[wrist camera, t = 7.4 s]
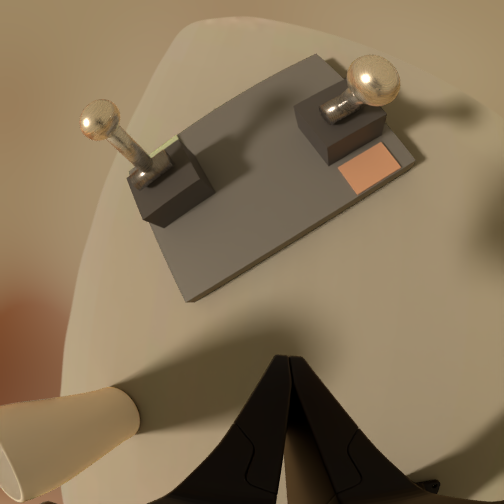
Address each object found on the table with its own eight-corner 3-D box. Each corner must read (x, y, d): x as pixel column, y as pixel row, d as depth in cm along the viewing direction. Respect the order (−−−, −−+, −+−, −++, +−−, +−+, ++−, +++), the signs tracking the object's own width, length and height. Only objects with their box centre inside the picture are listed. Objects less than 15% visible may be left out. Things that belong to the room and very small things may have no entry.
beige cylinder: (112, 364, 25) (-27, 391, 10) (161, 418, 23) (30, 488, 8) (87, 403, 25) (-31, 437, 11) (129, 453, 23) (18, 513, 9)
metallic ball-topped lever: (177, 173, 19) (104, 97, 13) (143, 199, 20) (66, 132, 14) (171, 153, 21) (105, 83, 15) (139, 177, 21) (71, 114, 15)
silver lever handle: (369, 114, 18) (422, 86, 10) (333, 134, 18) (375, 110, 11) (347, 82, 17) (390, 38, 10) (311, 101, 18) (340, 59, 10)
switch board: (411, 168, 21) (425, 141, 16) (194, 302, 23) (165, 302, 19) (317, 64, 24) (312, 30, 19) (137, 177, 27) (108, 159, 22)
